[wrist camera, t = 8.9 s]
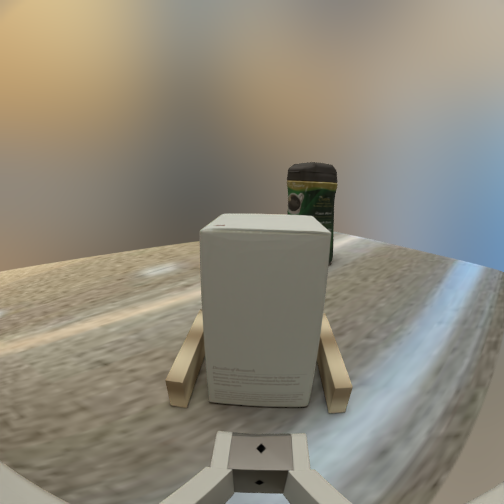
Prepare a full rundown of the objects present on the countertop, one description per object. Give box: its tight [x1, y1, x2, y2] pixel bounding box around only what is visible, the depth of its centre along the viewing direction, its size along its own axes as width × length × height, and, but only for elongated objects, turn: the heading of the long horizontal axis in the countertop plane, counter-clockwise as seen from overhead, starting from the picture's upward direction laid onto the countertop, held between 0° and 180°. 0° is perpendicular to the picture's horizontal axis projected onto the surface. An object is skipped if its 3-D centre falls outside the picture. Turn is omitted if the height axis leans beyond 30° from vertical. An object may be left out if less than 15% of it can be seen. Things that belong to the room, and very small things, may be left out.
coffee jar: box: [287, 162, 337, 262], centre depth 52 cm, size 10×8×19 cm
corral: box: [165, 309, 352, 413], centre depth 22 cm, size 11×12×2 cm
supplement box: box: [200, 214, 331, 407], centre depth 20 cm, size 7×7×13 cm
